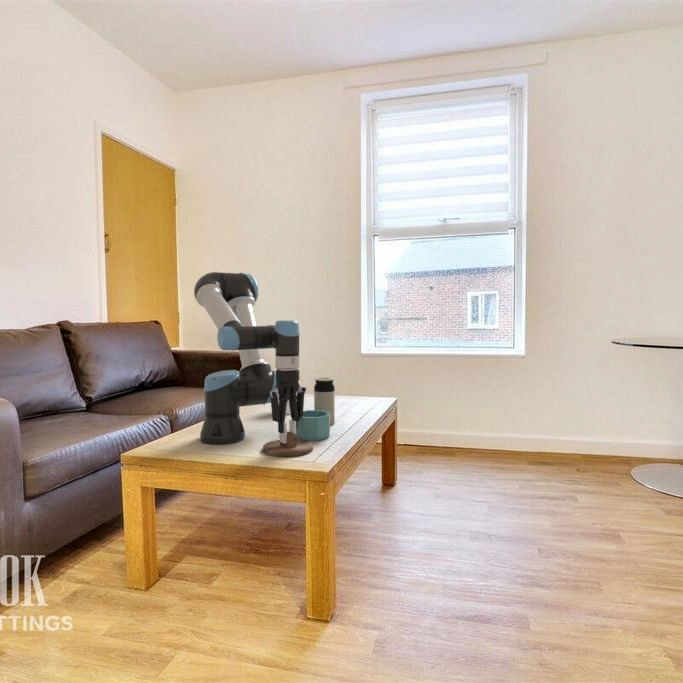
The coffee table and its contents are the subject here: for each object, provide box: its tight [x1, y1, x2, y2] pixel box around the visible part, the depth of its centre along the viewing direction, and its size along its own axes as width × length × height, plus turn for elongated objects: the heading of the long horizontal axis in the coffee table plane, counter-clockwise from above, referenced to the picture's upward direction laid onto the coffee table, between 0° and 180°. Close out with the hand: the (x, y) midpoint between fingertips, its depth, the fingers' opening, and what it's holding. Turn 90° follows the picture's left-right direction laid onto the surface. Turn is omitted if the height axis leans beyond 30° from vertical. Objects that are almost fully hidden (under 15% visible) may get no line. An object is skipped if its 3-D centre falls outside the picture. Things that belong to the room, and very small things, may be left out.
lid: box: [262, 430, 314, 458], centre depth 151 cm, size 16×16×5 cm
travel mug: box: [313, 376, 336, 426], centre depth 185 cm, size 8×8×18 cm
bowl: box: [296, 409, 331, 442], centre depth 167 cm, size 12×12×8 cm
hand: (288, 441), depth 151 cm, fingers closed on lid, 3 cm apart
